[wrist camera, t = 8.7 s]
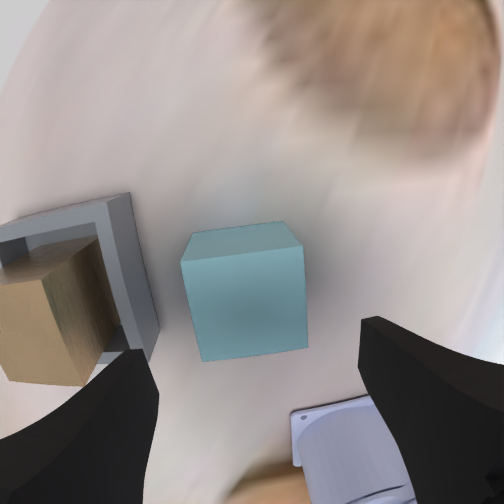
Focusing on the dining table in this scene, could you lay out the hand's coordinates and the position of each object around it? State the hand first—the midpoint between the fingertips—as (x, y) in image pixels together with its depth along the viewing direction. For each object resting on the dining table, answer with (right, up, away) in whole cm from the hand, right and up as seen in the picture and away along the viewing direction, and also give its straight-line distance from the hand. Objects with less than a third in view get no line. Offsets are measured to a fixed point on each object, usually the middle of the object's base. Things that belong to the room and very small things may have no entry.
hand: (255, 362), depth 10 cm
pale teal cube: (-1, +3, +8) cm, 9 cm away
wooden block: (-10, +2, +7) cm, 13 cm away
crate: (-11, +2, +8) cm, 13 cm away
